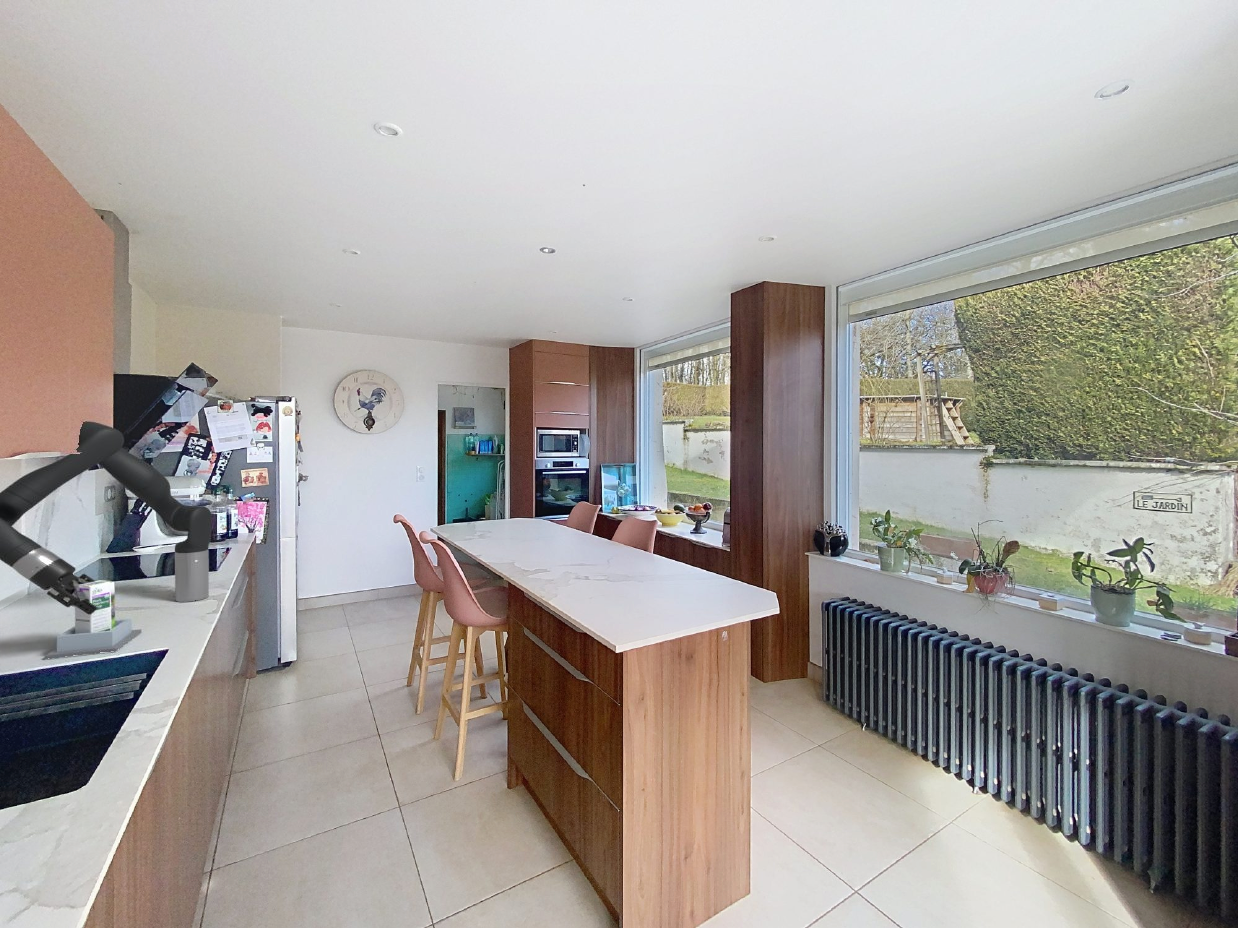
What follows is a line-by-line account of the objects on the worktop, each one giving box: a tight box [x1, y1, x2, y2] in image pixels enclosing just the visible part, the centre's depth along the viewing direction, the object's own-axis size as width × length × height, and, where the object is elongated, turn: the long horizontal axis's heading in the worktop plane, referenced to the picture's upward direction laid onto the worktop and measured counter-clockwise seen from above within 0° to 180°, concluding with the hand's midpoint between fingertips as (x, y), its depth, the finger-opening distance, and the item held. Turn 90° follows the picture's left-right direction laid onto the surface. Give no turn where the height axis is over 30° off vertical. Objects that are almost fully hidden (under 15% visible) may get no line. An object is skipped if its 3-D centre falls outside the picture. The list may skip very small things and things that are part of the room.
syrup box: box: [74, 579, 116, 634], centre depth 140 cm, size 6×6×14 cm
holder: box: [43, 618, 142, 660], centre depth 141 cm, size 15×14×5 cm
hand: (102, 607), depth 141 cm, fingers closed on syrup box, 7 cm apart
